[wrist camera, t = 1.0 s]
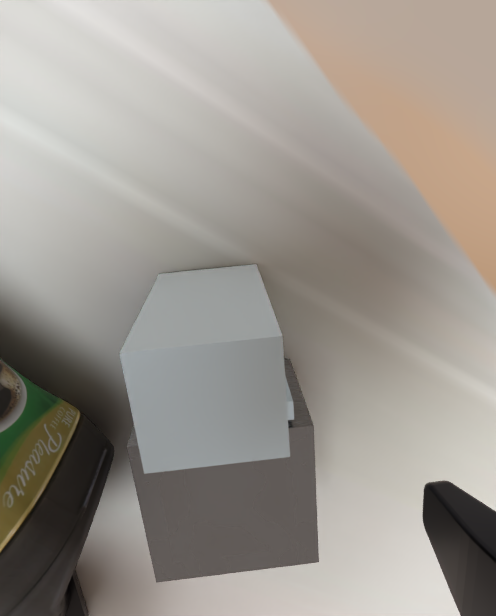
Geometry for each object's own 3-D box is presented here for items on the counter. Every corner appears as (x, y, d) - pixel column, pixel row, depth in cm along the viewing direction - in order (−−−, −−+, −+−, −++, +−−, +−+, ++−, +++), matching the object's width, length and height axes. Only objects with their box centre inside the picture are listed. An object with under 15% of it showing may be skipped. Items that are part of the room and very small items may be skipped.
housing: (296, 471, 24) (318, 562, 18) (170, 486, 23) (156, 582, 18) (289, 359, 21) (313, 425, 16) (149, 374, 21) (126, 446, 16)
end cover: (283, 459, 23) (316, 612, 15) (179, 471, 23) (159, 632, 15) (269, 262, 19) (304, 333, 11) (145, 275, 19) (96, 355, 11)
